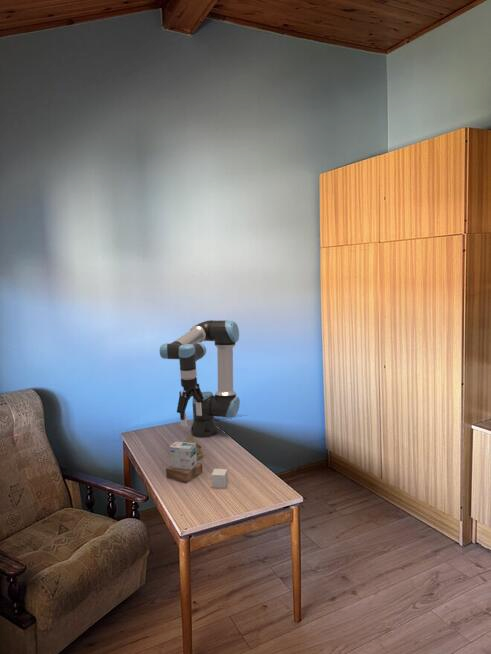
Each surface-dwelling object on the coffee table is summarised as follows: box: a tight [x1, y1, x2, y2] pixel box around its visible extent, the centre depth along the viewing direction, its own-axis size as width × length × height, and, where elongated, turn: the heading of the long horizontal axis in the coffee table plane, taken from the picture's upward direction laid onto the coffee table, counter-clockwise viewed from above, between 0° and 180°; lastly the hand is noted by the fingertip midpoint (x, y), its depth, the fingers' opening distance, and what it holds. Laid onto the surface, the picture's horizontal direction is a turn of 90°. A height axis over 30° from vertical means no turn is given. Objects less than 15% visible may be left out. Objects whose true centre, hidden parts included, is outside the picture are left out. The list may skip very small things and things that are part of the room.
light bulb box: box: [169, 441, 198, 470], centre depth 234 cm, size 11×7×11 cm, turn 72°
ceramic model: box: [184, 435, 205, 461], centre depth 257 cm, size 14×11×10 cm
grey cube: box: [210, 468, 229, 489], centre depth 225 cm, size 6×6×6 cm
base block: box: [165, 462, 204, 484], centre depth 235 cm, size 12×12×5 cm
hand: (191, 420), depth 238 cm, fingers open, 13 cm apart
